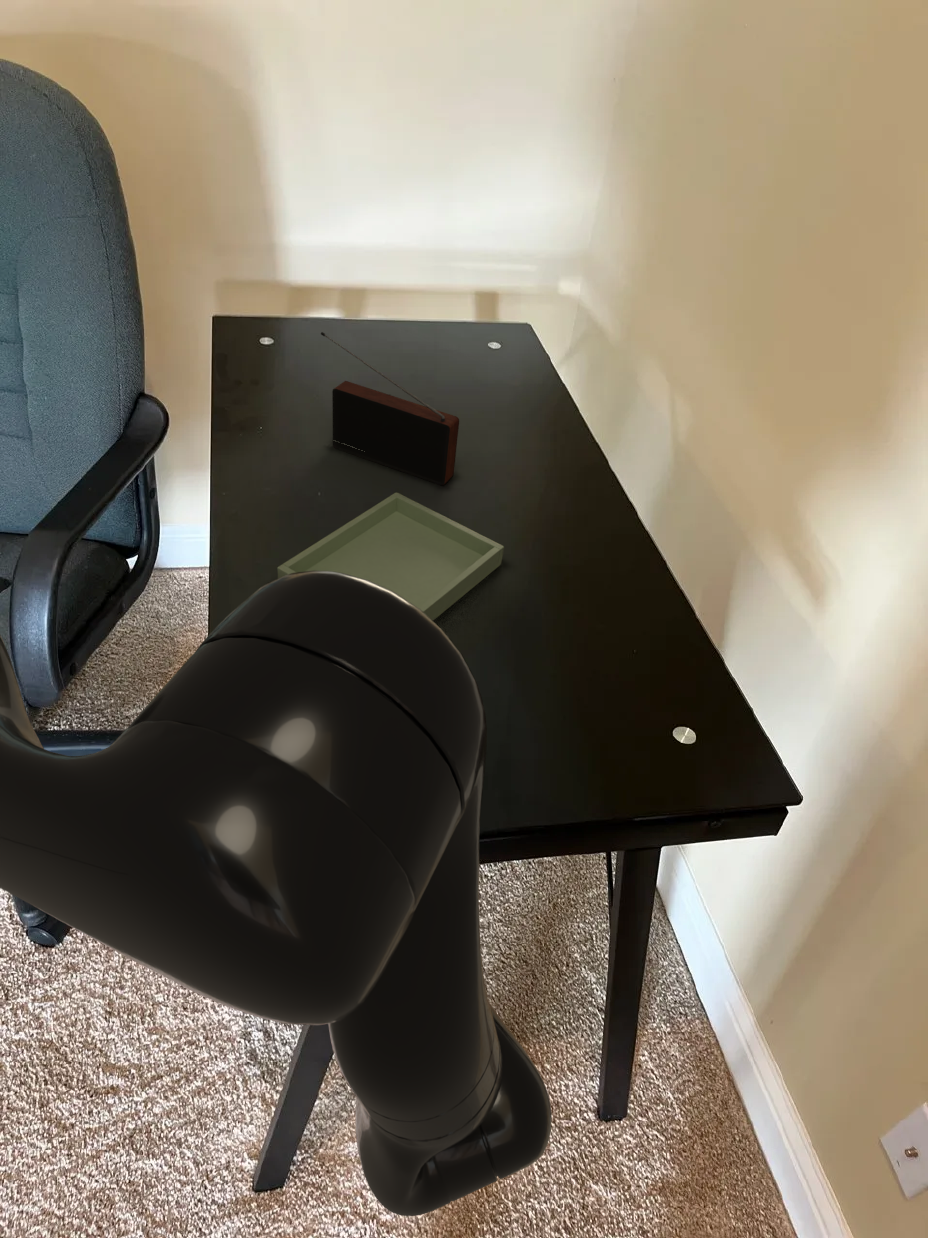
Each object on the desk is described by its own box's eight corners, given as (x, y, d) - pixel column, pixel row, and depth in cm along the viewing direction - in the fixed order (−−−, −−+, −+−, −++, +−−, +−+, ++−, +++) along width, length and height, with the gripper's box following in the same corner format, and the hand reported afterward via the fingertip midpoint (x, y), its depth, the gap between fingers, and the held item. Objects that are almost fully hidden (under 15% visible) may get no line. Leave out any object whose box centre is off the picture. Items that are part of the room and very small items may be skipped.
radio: (454, 475, 107) (466, 366, 97) (444, 486, 105) (455, 376, 95) (332, 433, 112) (331, 325, 102) (319, 442, 110) (317, 333, 100)
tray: (392, 655, 82) (393, 636, 80) (278, 586, 88) (276, 567, 86) (501, 564, 94) (504, 546, 92) (395, 509, 100) (396, 491, 98)
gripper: (475, 804, 56) (404, 643, 67) (262, 858, 51) (224, 675, 62) (464, 864, 61) (400, 705, 72) (269, 918, 56) (232, 739, 67)
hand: (318, 691), depth 67 cm, fingers open, 8 cm apart
